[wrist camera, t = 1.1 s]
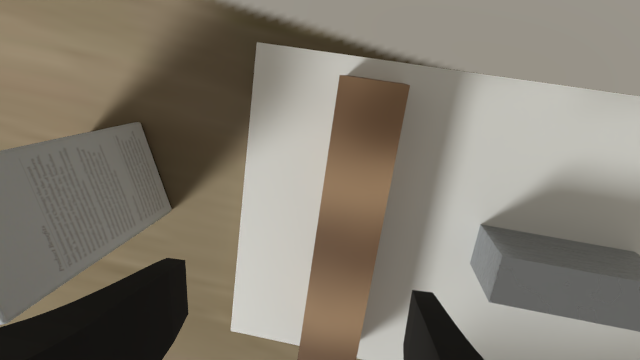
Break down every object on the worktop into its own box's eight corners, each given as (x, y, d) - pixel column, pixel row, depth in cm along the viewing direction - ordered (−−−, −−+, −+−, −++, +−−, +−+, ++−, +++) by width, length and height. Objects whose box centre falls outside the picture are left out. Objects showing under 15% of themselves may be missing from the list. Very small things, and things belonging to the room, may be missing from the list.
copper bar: (354, 343, 25) (349, 392, 21) (307, 333, 25) (294, 380, 21) (404, 83, 20) (410, 85, 17) (346, 75, 21) (339, 75, 17)
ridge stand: (732, 109, 20) (846, 120, 15) (609, 401, 24) (665, 481, 20) (262, 43, 22) (229, 34, 17) (235, 321, 27) (204, 374, 22)
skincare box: (83, 136, 25) (-168, 188, 13) (142, 120, 24) (-72, 161, 13) (118, 225, 26) (-84, 341, 15) (175, 212, 25) (8, 326, 14)
